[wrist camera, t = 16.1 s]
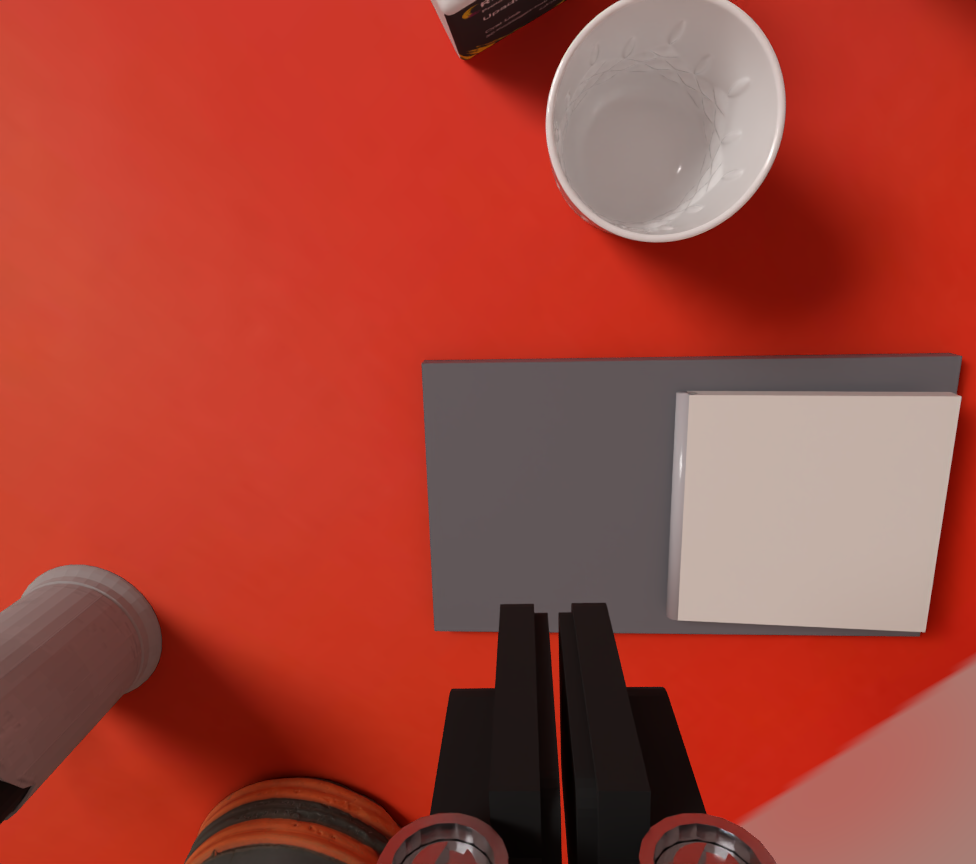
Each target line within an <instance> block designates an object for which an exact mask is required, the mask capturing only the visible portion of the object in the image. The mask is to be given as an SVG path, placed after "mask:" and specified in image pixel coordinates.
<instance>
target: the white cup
mask: <svg viewBox="0 0 976 864" xmlns="http://www.w3.org/2000/svg"><path fill="white" fill-rule="evenodd" d="M785 115H786V96H785V86H784V80H783V76H782V71H781V68H780V65H779V62H778V59H777V56H776V54H775V52H774V50H773V48H772V46H771V44H770V42H769V40H768V39H767V37H766V36H765V34H764V33H763V31H762V30H761V29H760V27H759V26H758V25H757V24H756V23H755V22H754V20H753V19H752V18H751V17H750V16H748V15H747V14H746V13H745V12H744V11H743V10H741V9H740V8H739V7H737V6H736V5H735V4H733V3H731V2H730V1H728V0H620V1H618V2H616V3H614V4H613V5H611V6H609V7H608V8H606V9H605V10H604V11H602V12H601V13H600V14H598V15H597V16H596V17H595V18H594V19H592V20H591V21H590V22H589V23H588V24H587V25H586V26H585V27H584V28H583V29H582V31H581V32H580V33H579V34H578V35H577V37H576V38H575V39H574V40H573V42H572V43H571V45H570V46H569V48H568V49H567V51H566V53H565V54H564V56H563V58H562V60H561V62H560V64H559V66H558V68H557V71H556V73H555V76H554V79H553V82H552V85H551V89H550V93H549V97H548V103H547V111H546V138H547V145H548V151H549V158H550V163H551V168H552V172H553V175H554V178H555V181H556V183H557V186H558V188H559V190H560V192H561V194H562V195H563V197H564V199H565V200H566V202H567V203H568V205H569V206H570V207H571V208H572V209H573V210H574V211H575V212H576V213H577V214H578V215H579V216H580V217H581V218H582V219H584V220H585V221H586V222H588V223H589V224H591V225H593V226H594V227H596V228H598V229H600V230H602V231H604V232H607V233H610V234H614V235H617V236H621V237H624V238H627V239H631V240H636V241H642V242H671V241H678V240H683V239H687V238H690V237H693V236H696V235H699V234H702V233H704V232H706V231H708V230H710V229H712V228H714V227H716V226H718V225H719V224H721V223H722V222H724V221H725V220H727V219H728V218H730V217H731V216H732V215H734V214H735V213H736V212H737V211H738V210H739V209H740V208H742V207H743V206H744V205H745V204H746V203H747V202H748V200H749V199H750V198H751V197H752V196H753V195H754V193H755V192H756V191H757V190H758V188H759V187H760V185H761V184H762V182H763V181H764V179H765V178H766V176H767V174H768V172H769V170H770V169H771V167H772V164H773V162H774V160H775V158H776V155H777V152H778V149H779V146H780V143H781V139H782V135H783V130H784V124H785Z"/></svg>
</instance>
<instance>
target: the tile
mask: <svg viewBox="0 0 976 864" xmlns="http://www.w3.org/2000/svg"><path fill="white" fill-rule="evenodd" d="M961 397H962V396H959V395H957V394H954V393H952V392H835V391H678V392H676V408H675V430H674V451H673V473H672V494H671V516H670V537H669V559H668V580H667V601H666V616H667V617H668V618H669V619H672V620H681V621H702V622H722V623H743V624H764V625H785V626H805V627H826V628H847V629H868V630H888V631H909V632H925V631H926V625H927V618H928V612H929V605H930V599H931V592H932V586H933V579H934V573H935V566H936V560H937V553H938V547H939V540H940V534H941V527H942V521H943V514H944V508H945V501H946V495H947V488H948V482H949V475H950V469H951V462H952V456H953V449H954V443H955V436H956V430H957V423H958V417H959V410H960V404H961Z"/></svg>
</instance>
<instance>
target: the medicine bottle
mask: <svg viewBox="0 0 976 864" xmlns="http://www.w3.org/2000/svg"><path fill="white" fill-rule="evenodd" d="M564 1H565V0H431V2H432V4H433V6H434V8H435V10H436V12H437V14H438V16H439V18H440V20H441V22H442V24H443V26H444V28H445V30H446V32H447V34H448V36H449V38H450V40H451V42H452V45H453V47H454V49H455V51H456V53H457V55H458V56H459V57H460V58H461V59H463V60H467V59H470V58H471V57H473V56H475V55H476V54H478V53H480V52H481V51H483V50H485V49H486V48H488V47H490V46H491V45H493V44H495V43H496V42H498V41H499V40H501V39H503V38H504V37H506V36H508V35H509V34H511V33H513V32H514V31H516V30H518V29H519V28H521V27H523V26H524V25H526V24H527V23H529V22H531V21H532V20H534V19H536V18H537V17H539V16H541V15H542V14H544V13H546V12H547V11H549V10H551V9H552V8H554V7H555V6H557V5H559V4H560V3H562V2H564Z"/></svg>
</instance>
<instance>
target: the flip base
mask: <svg viewBox="0 0 976 864" xmlns="http://www.w3.org/2000/svg"><path fill="white" fill-rule="evenodd" d="M961 361H962V356H960V355H956V354H952V353H918V354H847V355H775V356H703V357H632V358H560V359H489V360H424V362H423V363H422V381H423V402H424V423H425V443H426V464H427V485H428V505H429V526H430V547H431V567H432V588H433V609H434V629H435V631H480V632H499V617H500V604H534V613H548V623H549V632H559V626H558V613H559V612H571V603H606V604H607V608H608V612H609V617H610V621H611V625H612V629H613V633H660V634H751V635H841V636H920V632H909V631H888V630H868V629H847V628H826V627H805V626H785V625H764V624H743V623H722V622H702V621H681V620H672V619H669V618H668V617H667V616H666V601H667V580H668V559H669V537H670V516H671V494H672V473H673V451H674V430H675V408H676V392H678V391H835V392H952V393H954V394H957V387H958V381H959V374H960V368H961Z"/></svg>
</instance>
